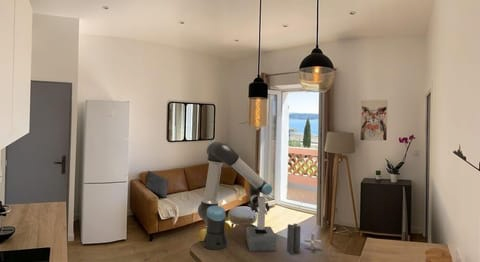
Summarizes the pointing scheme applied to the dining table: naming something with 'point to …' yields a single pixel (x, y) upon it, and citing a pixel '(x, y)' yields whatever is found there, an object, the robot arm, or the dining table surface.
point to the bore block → (261, 239)
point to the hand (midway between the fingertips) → (262, 212)
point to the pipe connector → (312, 241)
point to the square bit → (261, 214)
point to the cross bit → (293, 238)
